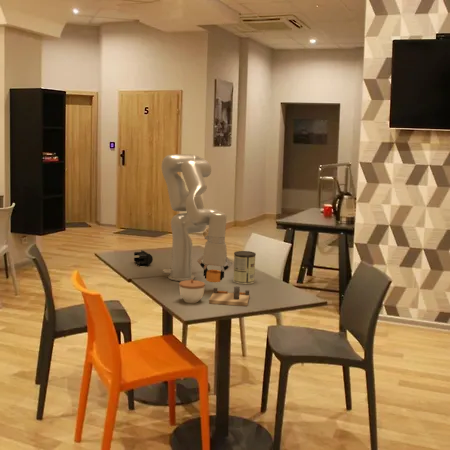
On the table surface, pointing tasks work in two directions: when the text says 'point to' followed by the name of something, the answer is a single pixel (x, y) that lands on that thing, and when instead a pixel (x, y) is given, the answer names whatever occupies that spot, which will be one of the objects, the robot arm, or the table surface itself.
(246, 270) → the coffee can
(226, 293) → the wooden peg board
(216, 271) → the orange short cylinder
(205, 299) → the table surface
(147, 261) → the end cap
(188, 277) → the robot arm
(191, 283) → the lidded jar
